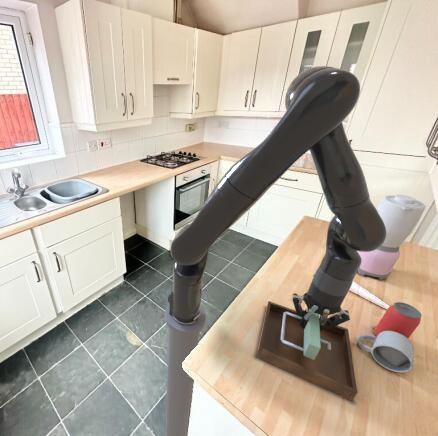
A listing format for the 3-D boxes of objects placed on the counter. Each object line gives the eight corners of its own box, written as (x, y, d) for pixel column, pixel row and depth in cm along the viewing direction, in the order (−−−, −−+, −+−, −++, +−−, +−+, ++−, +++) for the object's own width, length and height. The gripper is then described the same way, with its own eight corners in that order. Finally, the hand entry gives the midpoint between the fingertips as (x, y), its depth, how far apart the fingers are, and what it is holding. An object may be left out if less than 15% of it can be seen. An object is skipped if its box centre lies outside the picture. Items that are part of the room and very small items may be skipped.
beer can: (385, 326, 76) (404, 298, 70) (409, 345, 70) (431, 317, 64) (367, 329, 75) (385, 302, 69) (390, 349, 69) (410, 321, 63)
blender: (392, 284, 91) (439, 208, 76) (352, 274, 96) (388, 201, 81) (380, 260, 104) (418, 191, 88) (345, 253, 109) (376, 186, 93)
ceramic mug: (407, 357, 67) (420, 339, 63) (404, 378, 62) (418, 360, 59) (359, 333, 74) (369, 315, 70) (353, 350, 69) (363, 332, 66)
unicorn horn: (394, 321, 77) (401, 310, 75) (318, 276, 96) (322, 267, 94) (401, 315, 79) (408, 304, 77) (325, 272, 98) (329, 263, 96)
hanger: (279, 345, 66) (284, 333, 63) (283, 309, 76) (287, 298, 74) (331, 367, 61) (339, 355, 58) (328, 325, 71) (334, 314, 69)
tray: (256, 356, 68) (258, 348, 66) (266, 308, 83) (268, 300, 81) (351, 400, 58) (357, 392, 56) (343, 336, 73) (348, 329, 71)
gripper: (298, 283, 62) (281, 327, 71) (367, 305, 56) (339, 350, 64) (299, 267, 68) (283, 309, 76) (361, 284, 62) (337, 329, 70)
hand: (309, 328), depth 70 cm, fingers closed on hanger, 2 cm apart
